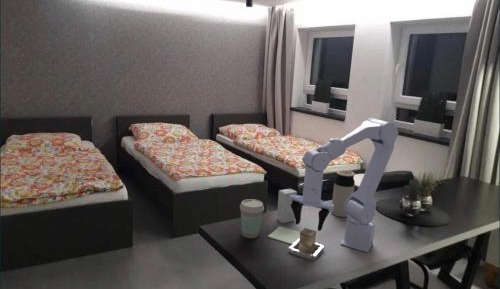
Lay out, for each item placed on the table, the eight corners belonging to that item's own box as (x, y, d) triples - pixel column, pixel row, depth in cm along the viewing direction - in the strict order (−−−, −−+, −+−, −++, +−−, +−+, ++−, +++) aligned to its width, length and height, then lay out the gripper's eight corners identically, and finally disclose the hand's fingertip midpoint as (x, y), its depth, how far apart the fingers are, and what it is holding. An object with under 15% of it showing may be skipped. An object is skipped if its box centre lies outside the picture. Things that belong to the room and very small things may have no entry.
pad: (304, 234, 137) (305, 233, 137) (293, 245, 129) (293, 244, 129) (280, 227, 142) (280, 226, 142) (267, 237, 134) (267, 236, 133)
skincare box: (282, 223, 145) (285, 194, 142) (275, 219, 148) (278, 190, 146) (295, 220, 148) (297, 191, 145) (288, 216, 152) (290, 188, 149)
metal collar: (324, 249, 127) (324, 245, 127) (314, 261, 119) (314, 256, 119) (299, 241, 132) (299, 237, 131) (287, 252, 124) (288, 248, 123)
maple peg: (314, 250, 126) (316, 231, 125) (309, 255, 123) (311, 235, 121) (302, 246, 128) (304, 227, 127) (298, 251, 125) (300, 232, 123)
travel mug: (354, 216, 156) (359, 174, 151) (338, 218, 153) (343, 176, 148) (343, 209, 163) (347, 169, 159) (327, 210, 160) (331, 170, 156)
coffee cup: (256, 228, 140) (258, 197, 137) (266, 238, 132) (268, 206, 130) (235, 230, 137) (236, 199, 134) (243, 241, 129) (245, 208, 127)
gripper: (286, 185, 120) (283, 224, 124) (330, 196, 113) (325, 237, 117) (295, 180, 126) (292, 217, 130) (337, 189, 119) (333, 229, 123)
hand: (308, 226), depth 123 cm, fingers open, 7 cm apart
